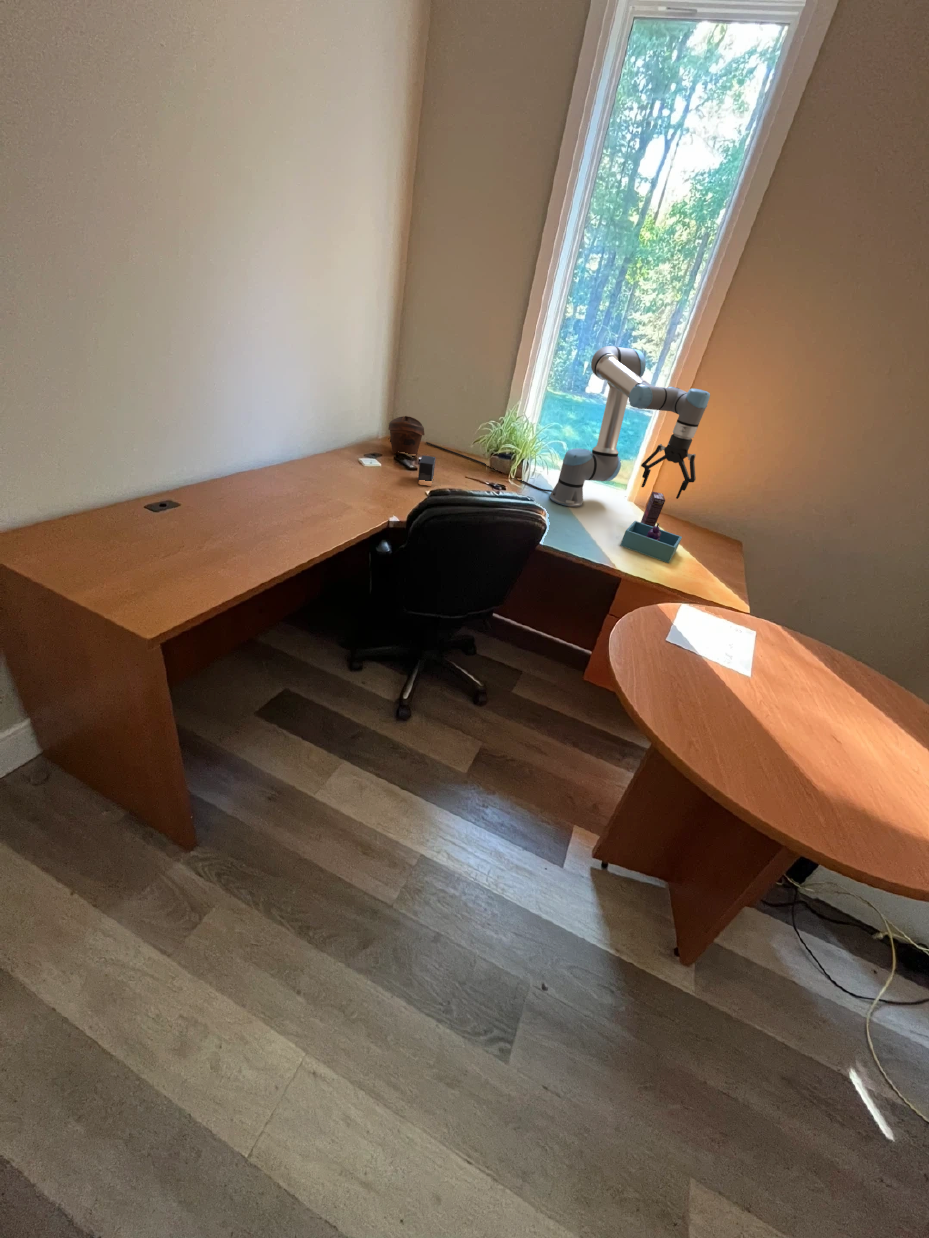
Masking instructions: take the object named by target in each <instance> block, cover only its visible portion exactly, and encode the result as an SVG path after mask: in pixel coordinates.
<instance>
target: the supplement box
mask: <svg viewBox="0 0 929 1238" xmlns="http://www.w3.org/2000/svg"><path fill="white" fill-rule="evenodd" d="M665 503H666V498H665V496H664V493H661V492H657V491H652V492H651V494H650V497H649V500H648V502H647V504H646V507H645V509H644V512H643V515H642V518H641V520H640V523H643V524H646V525H649V526H652V527H654V526H657V523H658V520H659V517H660V515H661V512H662V510H663V507H664V506H665Z"/></svg>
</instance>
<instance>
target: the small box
mask: <svg viewBox="0 0 929 1238" xmlns="http://www.w3.org/2000/svg"><path fill="white" fill-rule="evenodd" d="M435 467H436V456H430V455H421V459H420V461H419V465H418V475H417V481H418V480H425V481H432V479H433V476H434V477H435V469H436V468H435ZM433 480H434V479H433Z"/></svg>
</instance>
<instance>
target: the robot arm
mask: <svg viewBox="0 0 929 1238" xmlns="http://www.w3.org/2000/svg"><path fill="white" fill-rule="evenodd" d="M646 363H647V362H646V358H645V354H644V353H643V351H641V350H638V349H635V348H629V347H619V346H614V345H606V346H603V347H601V348H599V349H598V350H597V351H596V352H594V354H593V356H592V358H591V362H590V367H591V371H592V373H593V374H594V375H595V376H596V377H597V378H598V379H600V380H602V381H607V382H606V384H607V385H608V387H609V389H608V394H607V398H606V403H605V407H604V411H603V415H602V420H601V425H600V430H599V433H598V437H597V443H596V445H595V446H594V447H593V448H592V450H589V449H586V448H581V447H580V448H578V447H576V448H571V449H569V450H567V451H566V452H565V454H564V457H563V459H562V465H561V468H560V472H559V476H558V479H557V482H556V484H555V486H554V487H553V488H552V489H545V488H541V487H539V486H536V485H534V484H531V483H529V482H527V481H525V480H523V479H521V480H518V481H519V482H521V483H523V484H524V485H527V486H530V487H531V488H534V489H536V490H539V491H541V492H547V493H550V495H549V499H550V500H551V501H552V502H553V503H555V504H558V505H559V506H560V505H561V506H563V507H569V508H578V507H581V506H582V505H583V501H584V492H583V491H584V488H583V487H584V486H585V485H584V484H585V481H594V482H595V481H596V482H609V481H612V480H614V479H615V478H616V477H617V476H618V474H619V473H620V470H621V467H622V462H621V461H622V460H621V457H620V456H619V451H618V449H617V446H618V442H619V437H620V434H621V433H620V432H621V429H622V424H623V421H624V417H625V413H626V408H627V405H628V402H629V406H631V407H632V408H635V409H639V410H651V411H653V410H654V411H661V412H662V411H664V412H671V413H673V414H677V415H678V417H677V419H676V422H675V425H674V428H673V430H672V434H671V435H670V437H669V439H668V443H667V445H666V446H665V445H663V444H662V443H659V444H658V445H657V446H656V448H655V450H654V451H653V452H652V453H651V454H650V456H648V457H647V458H646V459H645V460H644V461H643V462H641V464H640V466H641V468H643V469H644V470H643V473H642V478H643V481H642V483H641V486H640V487H641V488H645V487H646V484H647V482H648V478H649V476H650V474H651V471H652V469H651V468H653V467H655V466H657V465H658V464H659V463H661V462H663V461H664V460H666V461H667V462H672V463H673V464H678V465H679V467H680V471H681V474H682V476H683V479H684V480H683V481H682V483H681V485H680V488H679V490H678V493H677V494H676V497H675V499H676V500H678V499H679V498H680V496H681V494H682V492H683V491H686V490H687V488H688V486H689V484H690V483H695V482H696V479H697V478H696V466H695V465H696V464H695V459H696V453H689V450H690V447H691V444H692V441H693V438H695V436H696V433H697V430H698V427H699V425H700V422H701V420H702V418H703V415H704V413H705V411H706V409H707V407H708V404H709V400H710V398H711V393H710V391H709V392H708V391H706V390H703V389H701V388H694V387H693V388H689V389H688V391H686V390H683V389H681V388H680V387H675V386H668V387H663V386H655V385H653V384H650V383H649V382H647V380H645V379H644V378H642V377H643V376H644V374H645V371H646V365H647V364H646ZM425 444H427V445H430V446H432V447H434V448H438V449H440V450H443V451H446V452H448V453H450V454H454V455H457V456H460V457H461V458H465V459H468V460H470V461H473V462H476V463H479V464H481V465H484V466H486V464H487V463H486V462H482V461H481V460H478V459H476V458H473V457H470V456H467V455H465V454H461V453H459V452H457V451H454V450H451V449H448V448H445V447H442V446H439V445H436V444H434V443H431V442H428V441H426V442H425ZM659 452H663V453H664V455H662V456H661V457H659V458H657V459H656V460H654V461H653V462H650V461H652V459H653V458H655V457H656V455H657V454H658V453H659ZM686 458H687V459H688V461H689V473H688V470H687V467H686V463H685V460H684V459H686ZM649 462H650V464H648V463H649ZM485 463H486V464H485ZM689 475H690V476H689ZM522 480H523V481H522Z"/></svg>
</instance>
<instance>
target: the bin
mask: <svg viewBox="0 0 929 1238" xmlns="http://www.w3.org/2000/svg"><path fill="white" fill-rule="evenodd" d="M652 528H653V527H652V526H649V525H646V524H643V523H641V521H640V522H639V521H638V520H634V521H633V522H632V523H631V524H630V525H629V526H628V527H627V528H626V529H625V531H624V534H623V537H622V540H621V543H620V547H623V548H626V549H629V550H631V551H633V552H637V553H640V554H643V555H644V556H648V557H651V558H653V559H656V560H658V561H661V562H664V563H666V564H669V563H670V561H671V560H672V559H673V557H674V555H675V554H676V552H677V549H678V547H679V546H680V543H681V540H682V539H683V536H681V535H678V534H675V533H672V532H669V531H666V530H663V529H661V528H660V532H661V536H660V537H659V538H660V541H657V540H654V539H651V538H649V537H646V536H647V533H648V532H649V530H651V529H652Z"/></svg>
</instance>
